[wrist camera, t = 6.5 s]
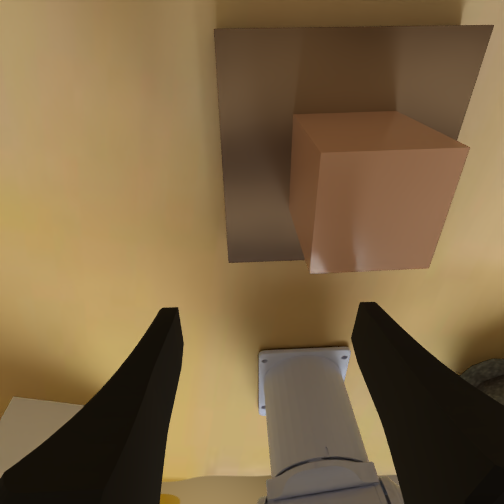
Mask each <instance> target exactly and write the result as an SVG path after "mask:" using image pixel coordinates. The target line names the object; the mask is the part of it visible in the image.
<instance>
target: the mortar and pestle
mask: <svg viewBox="0 0 504 504" xmlns="http://www.w3.org/2000/svg"><path fill="white" fill-rule="evenodd" d="M460 377H461V378H463V379H464V380H466V381H467V382H468V383H470V384H471V385H473V386H474V387H476V388H477V389H479V390H480V391H482V392H483V393H485V394H487V395H488V396H490V397H491V398H493V399H494V400H496V401H498V402H499V403H501V404H502V405H504V359H490V360H487V361H485V362H482V363H479V364H476V365H473V366H471V367H470V368H469V369H467V370H466V371H465V372H464V373H463V374H461V375H460Z"/></svg>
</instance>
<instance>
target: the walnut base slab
mask: <svg viewBox="0 0 504 504" xmlns="http://www.w3.org/2000/svg"><path fill="white" fill-rule="evenodd" d="M493 27H494V25H459V26H387V27H314V28H242V29H214V37H215V53H216V69H217V85H218V101H219V117H220V133H221V149H222V165H223V181H224V197H225V213H226V229H227V245H228V261H229V263H238V262H264V261H291V260H305V258H304V255H303V252H302V249H301V245H300V242H299V239H298V236H297V233H296V230H295V226H294V223H293V220H292V217H291V214H290V211H289V196H290V174H291V152H292V130H293V114H318V113H349V112H379V111H397V112H399V113H402V114H404V115H406V116H408V117H410V118H412V119H414V120H416V121H418V122H420V123H422V124H424V125H426V126H428V127H430V128H432V129H434V130H436V131H438V132H440V133H442V134H444V135H446V136H448V137H450V138H452V139H454V140H456V141H457V138H458V135H459V132H460V129H461V126H462V123H463V120H464V116H465V113H466V110H467V107H468V104H469V101H470V98H471V95H472V92H473V89H474V86H475V83H476V80H477V76H478V73H479V70H480V67H481V64H482V61H483V58H484V55H485V52H486V49H487V46H488V43H489V40H490V36H491V33H492V30H493Z"/></svg>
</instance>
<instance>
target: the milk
mask: <svg viewBox="0 0 504 504" xmlns="http://www.w3.org/2000/svg"><path fill="white" fill-rule="evenodd" d="M84 406H85V405H78V404H70V403H62V402H54V401H46V400H38V399H30V398H21V397H13V398H12V399H11V401H10V403H9V405H8V407H7V409H6V410H5V412H4V414H3V416H2V418H1V420H0V478H1V477H2V475H3V473H4V472H5V471H6V470H8V469H9V468H11V467H12V466H13V465H15V464H16V463H17V462H19V461H20V460H21V459H22V458H24V457H25V456H26V455H28V454H29V453H30V452H32V451H33V450H34V449H36V448H37V447H38V446H39V445H41V444H42V443H43V442H44V441H46V440H47V439H48V438H49V437H50V436H51V435H53V434H54V433H55V432H56V431H57V430H58V429H59V428H61V427H62V426H63V425H64V424H65V423H66V422H68V421H69V420H70V419H71V418H72V417H73V416H74V415H75V414H76V413H77V412H79V411H80V410H81V409H82V408H83V407H84Z"/></svg>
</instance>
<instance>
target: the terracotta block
mask: <svg viewBox="0 0 504 504" xmlns="http://www.w3.org/2000/svg"><path fill="white" fill-rule="evenodd" d="M469 150H470V147H468V146H466V145H464V144H462V143H460V142H458V141H456V140H454V139H452V138H450V137H448V136H446V135H444V134H442V133H440V132H438V131H436V130H434V129H432V128H430V127H428V126H426V125H424V124H422V123H420V122H418V121H416V120H414V119H412V118H410V117H408V116H406V115H404V114H402V113H399V112H397V111H379V112H349V113H318V114H293V130H292V152H291V174H290V196H289V211H290V214H291V217H292V220H293V223H294V226H295V230H296V233H297V236H298V239H299V242H300V245H301V249H302V252H303V255H304V258H305V261H306V264H307V268H308V271H309V274H317V273H339V272H360V271H381V270H403V269H424V268H429V267H430V264H431V261H432V258H433V255H434V252H435V249H436V246H437V243H438V240H439V237H440V234H441V231H442V229H443V226H444V223H445V220H446V217H447V214H448V211H449V208H450V205H451V202H452V199H453V196H454V193H455V190H456V188H457V185H458V182H459V179H460V176H461V173H462V170H463V167H464V164H465V161H466V158H467V155H468V152H469Z"/></svg>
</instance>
